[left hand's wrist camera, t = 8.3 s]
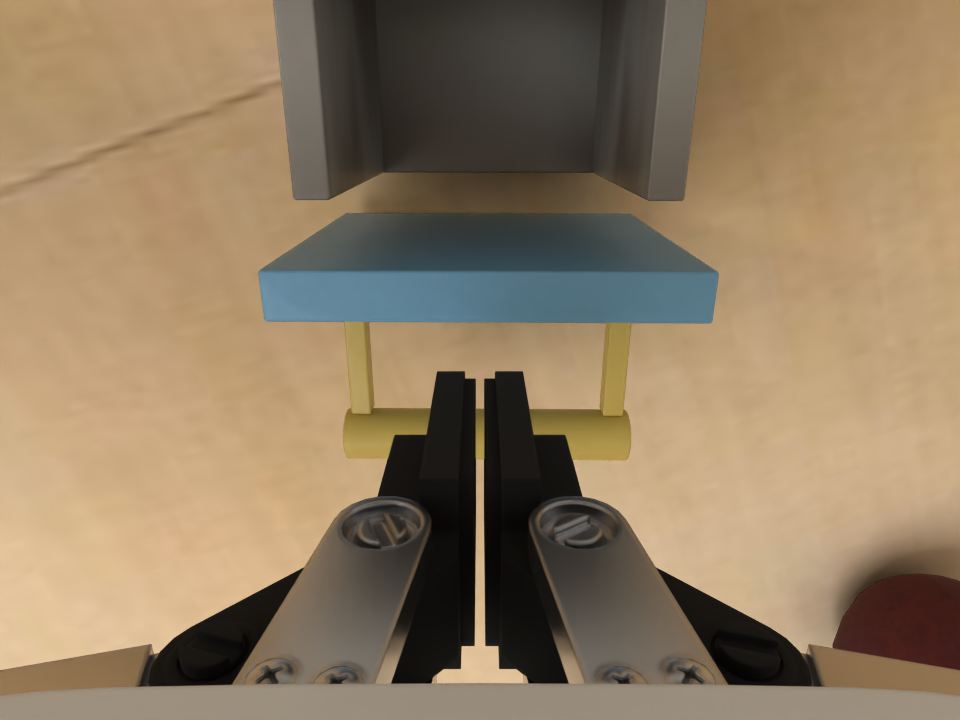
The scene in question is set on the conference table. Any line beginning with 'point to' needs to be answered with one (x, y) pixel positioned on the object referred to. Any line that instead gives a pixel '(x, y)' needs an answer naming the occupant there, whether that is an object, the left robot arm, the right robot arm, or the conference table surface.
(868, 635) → the potato
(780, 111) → the conference table surface
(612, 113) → the drawer
